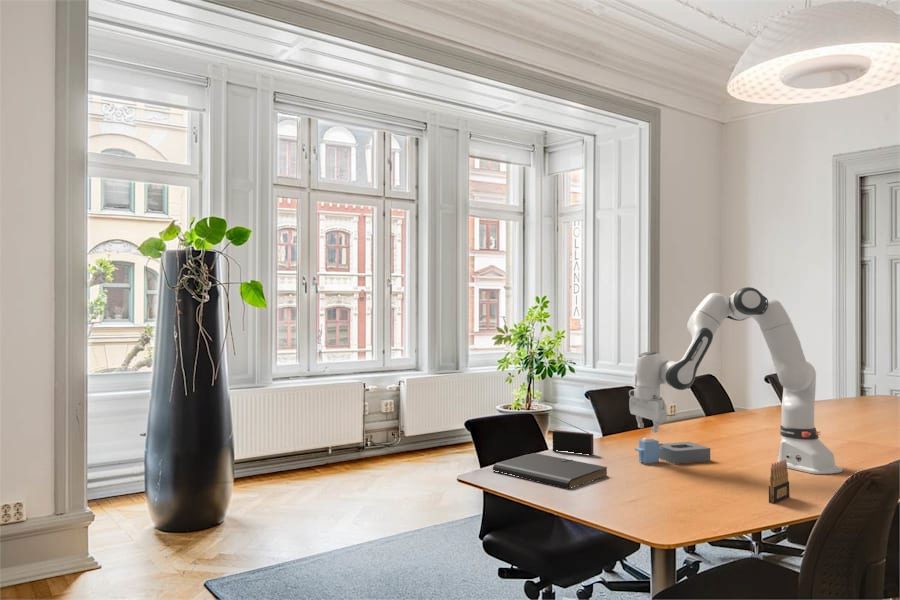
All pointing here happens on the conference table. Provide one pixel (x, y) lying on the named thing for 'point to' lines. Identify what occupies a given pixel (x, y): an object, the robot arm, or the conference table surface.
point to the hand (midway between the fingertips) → (647, 429)
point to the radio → (573, 441)
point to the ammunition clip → (779, 482)
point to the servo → (649, 450)
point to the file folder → (551, 470)
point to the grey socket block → (684, 452)
